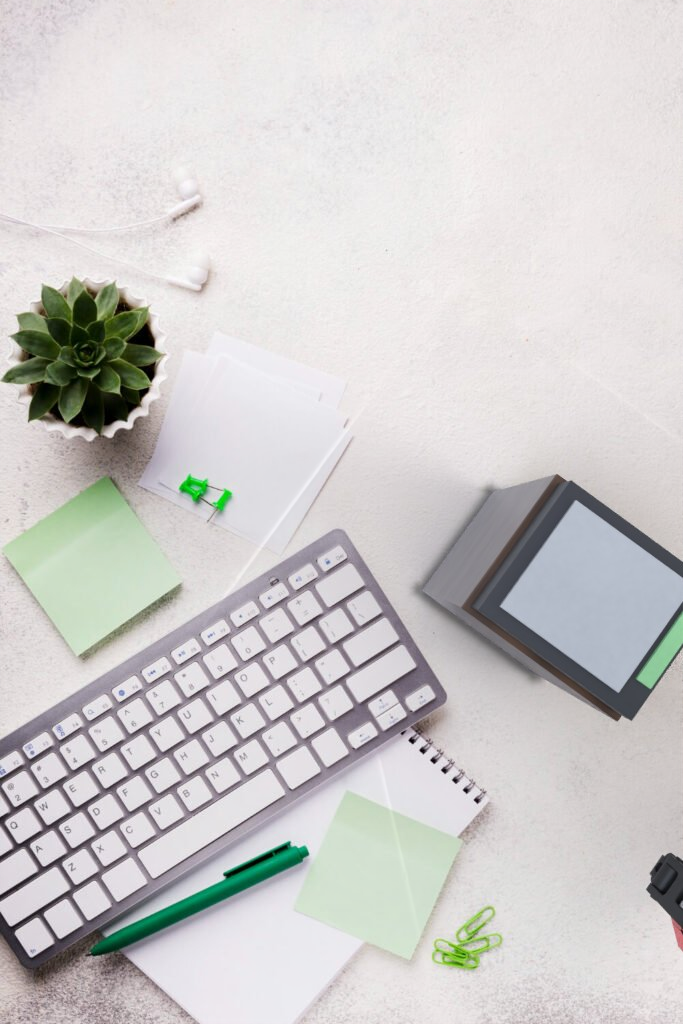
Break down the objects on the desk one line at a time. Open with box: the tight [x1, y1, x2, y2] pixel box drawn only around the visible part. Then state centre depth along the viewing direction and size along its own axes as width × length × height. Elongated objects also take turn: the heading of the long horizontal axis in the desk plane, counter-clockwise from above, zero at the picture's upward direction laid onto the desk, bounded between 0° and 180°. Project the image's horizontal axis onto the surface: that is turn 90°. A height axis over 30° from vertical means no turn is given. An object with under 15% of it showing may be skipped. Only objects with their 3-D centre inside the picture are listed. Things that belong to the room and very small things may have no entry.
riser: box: [421, 473, 623, 723], centre depth 73 cm, size 14×12×22 cm
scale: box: [471, 479, 683, 722], centre depth 60 cm, size 13×11×3 cm
